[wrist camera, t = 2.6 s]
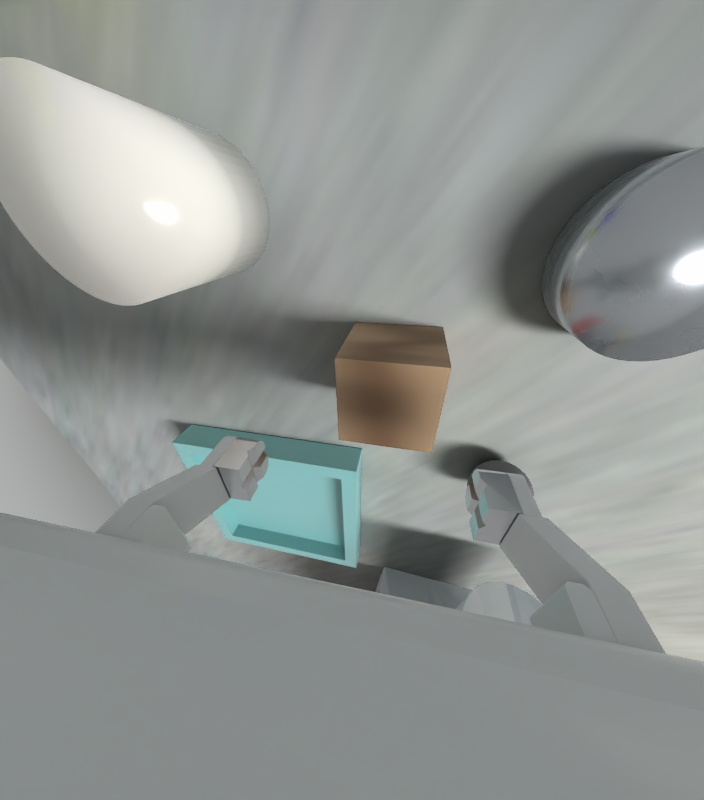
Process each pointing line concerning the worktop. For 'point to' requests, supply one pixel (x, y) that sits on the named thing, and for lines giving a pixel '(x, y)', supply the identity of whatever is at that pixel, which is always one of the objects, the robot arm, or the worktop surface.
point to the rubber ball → (500, 470)
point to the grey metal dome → (635, 263)
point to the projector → (461, 596)
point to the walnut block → (391, 385)
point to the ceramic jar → (122, 189)
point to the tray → (291, 496)
